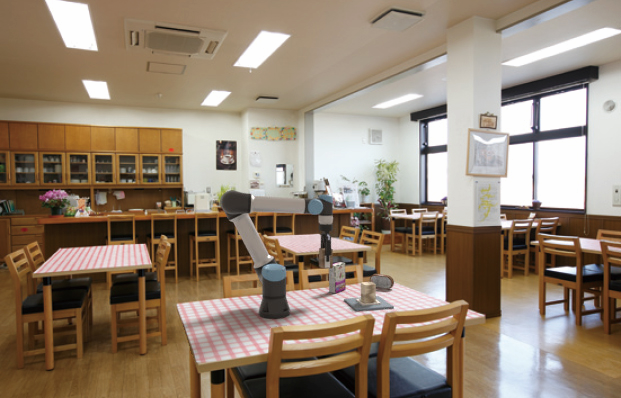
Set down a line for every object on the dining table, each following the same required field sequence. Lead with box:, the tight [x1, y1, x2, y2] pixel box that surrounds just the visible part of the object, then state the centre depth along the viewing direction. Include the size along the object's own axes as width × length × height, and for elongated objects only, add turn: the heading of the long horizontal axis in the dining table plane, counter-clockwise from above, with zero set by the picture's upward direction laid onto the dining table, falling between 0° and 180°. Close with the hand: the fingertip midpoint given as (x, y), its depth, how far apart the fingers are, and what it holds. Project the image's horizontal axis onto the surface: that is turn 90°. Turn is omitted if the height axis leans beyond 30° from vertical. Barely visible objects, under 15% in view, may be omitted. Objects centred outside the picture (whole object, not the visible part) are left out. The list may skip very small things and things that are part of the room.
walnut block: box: [318, 247, 334, 269], centre depth 218 cm, size 6×6×10 cm
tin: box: [369, 273, 395, 290], centre depth 247 cm, size 15×3×8 cm, turn 58°
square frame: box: [356, 299, 381, 306], centre depth 213 cm, size 10×10×1 cm
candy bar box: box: [328, 261, 347, 294], centre depth 241 cm, size 11×5×16 cm, turn 143°
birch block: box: [360, 281, 377, 303], centre depth 213 cm, size 6×6×10 cm
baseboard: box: [343, 295, 395, 312], centre depth 213 cm, size 20×20×1 cm
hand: (325, 266), depth 218 cm, fingers closed on walnut block, 6 cm apart
